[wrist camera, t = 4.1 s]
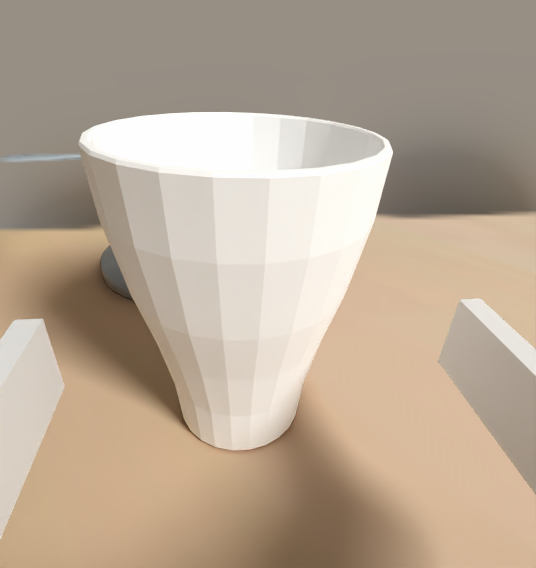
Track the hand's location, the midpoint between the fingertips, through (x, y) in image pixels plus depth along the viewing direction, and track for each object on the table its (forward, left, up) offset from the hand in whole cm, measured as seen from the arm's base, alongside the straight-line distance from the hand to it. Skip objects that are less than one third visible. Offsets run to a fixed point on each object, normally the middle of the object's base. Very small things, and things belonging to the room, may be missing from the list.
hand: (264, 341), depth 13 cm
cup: (-2, +4, -8) cm, 9 cm away
